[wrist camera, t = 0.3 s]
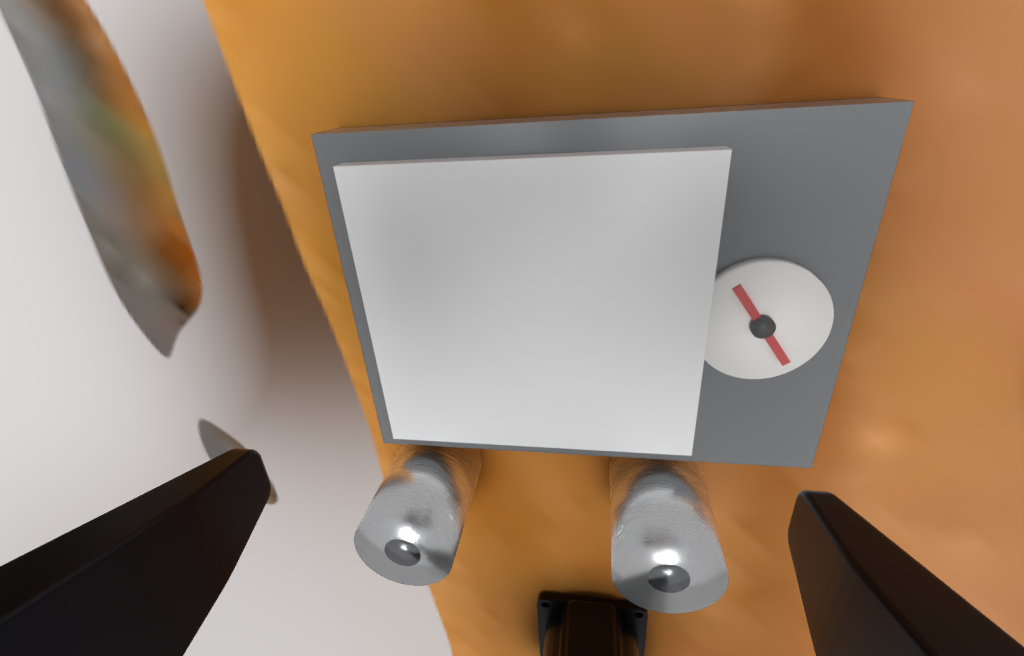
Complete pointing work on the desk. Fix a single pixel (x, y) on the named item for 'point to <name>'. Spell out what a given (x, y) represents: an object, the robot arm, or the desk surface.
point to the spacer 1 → (419, 513)
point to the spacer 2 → (664, 535)
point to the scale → (612, 274)
